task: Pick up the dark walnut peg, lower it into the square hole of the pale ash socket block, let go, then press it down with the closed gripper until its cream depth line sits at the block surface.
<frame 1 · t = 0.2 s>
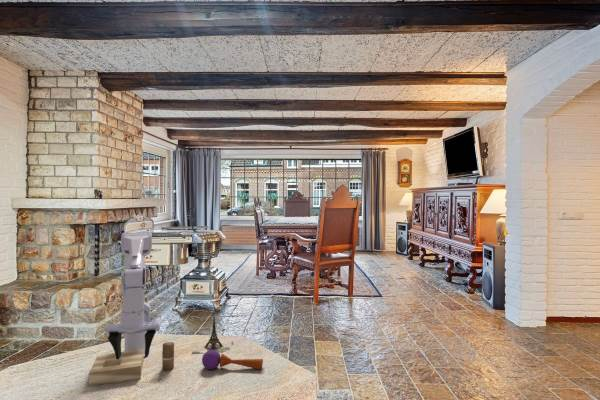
hand: (132, 356, 102), 10 cm above the table, tool pointing down, fingers open, 7 cm apart
eiffel tower figurine: (213, 349, 133), on the table
socket block: (118, 372, 113), on the table
kendama: (232, 369, 117), on the table
peg: (168, 368, 116), on the table
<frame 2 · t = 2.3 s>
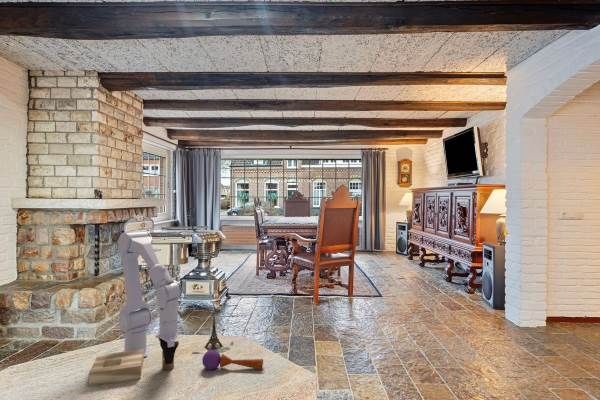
hand: (168, 360, 116), 2 cm above the table, tool pointing down, fingers closed on peg, 4 cm apart
peg: (168, 368, 116), on the table, touching gripper
everything else where it was.
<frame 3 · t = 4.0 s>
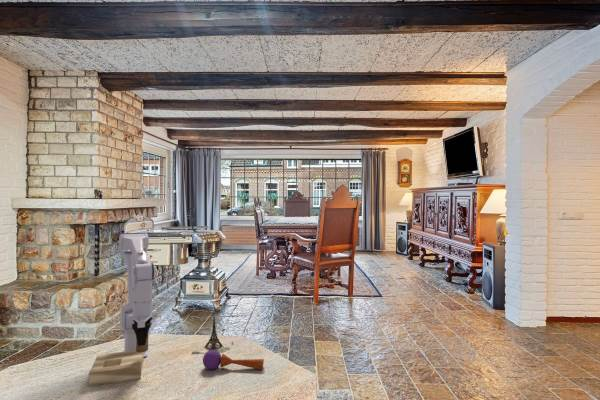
hand: (142, 342, 114), 9 cm above the table, tool pointing down, fingers closed on peg, 4 cm apart
peg: (142, 350, 114), point 7 cm above the table, touching gripper
everything else where it was.
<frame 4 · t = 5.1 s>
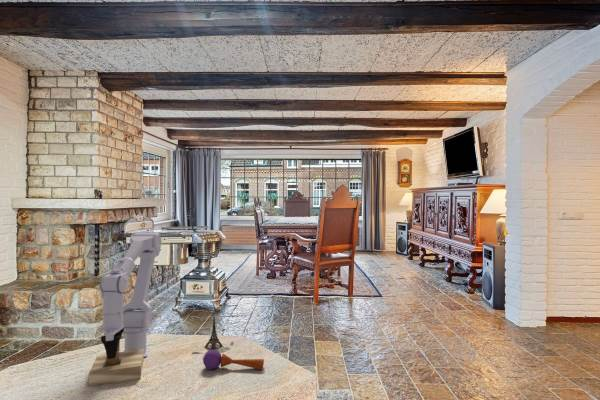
hand: (112, 355, 111), 6 cm above the table, tool pointing down, fingers closed on peg, 4 cm apart
peg: (112, 363, 111), point 4 cm above the table, touching gripper
everything else where it was.
when the fingers open (5 cm above the table, at t = 5.7 s): peg drops 2 cm, resting on socket block.
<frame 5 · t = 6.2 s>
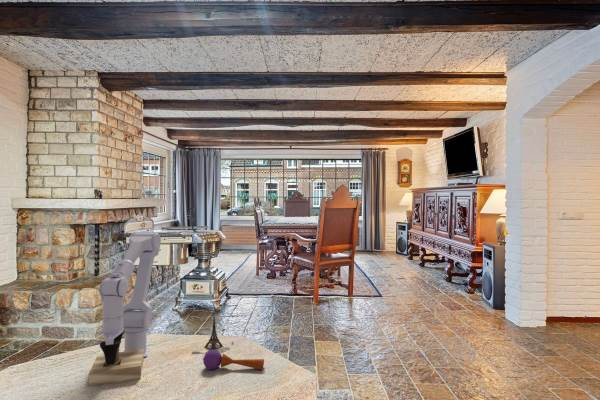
hand: (112, 359, 111), 5 cm above the table, tool pointing down, fingers open, 7 cm apart
peg: (112, 373, 111), point 1 cm above the table, touching socket block
everything else where it was.
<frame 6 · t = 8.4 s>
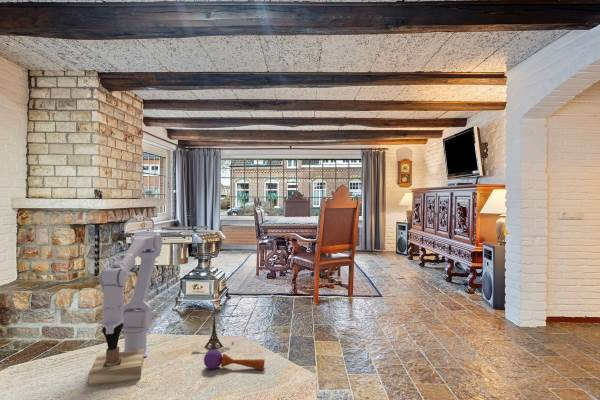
hand: (112, 349, 111), 8 cm above the table, tool pointing down, fingers closed, pressing on peg
peg: (112, 373, 111), resting on socket block, touching gripper
everything else where it was.
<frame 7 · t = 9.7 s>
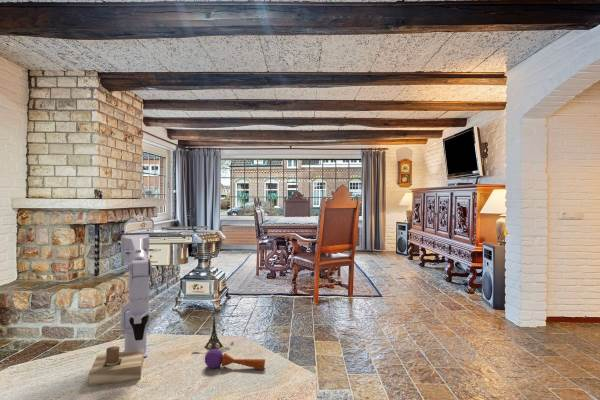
hand: (139, 339, 114), 10 cm above the table, tool pointing down, fingers closed
peg: (112, 373, 111), resting on socket block
everything else where it was.
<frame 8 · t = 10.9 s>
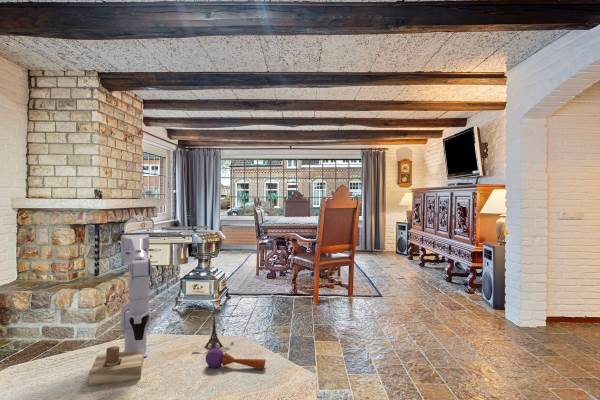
hand: (139, 339, 114), 10 cm above the table, tool pointing down, fingers closed
at the end: peg 0.1 cm from the target spot on the socket block, point 0.5 cm above the socket block's base; peg tilted 0°; the gripper is holding nothing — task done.
